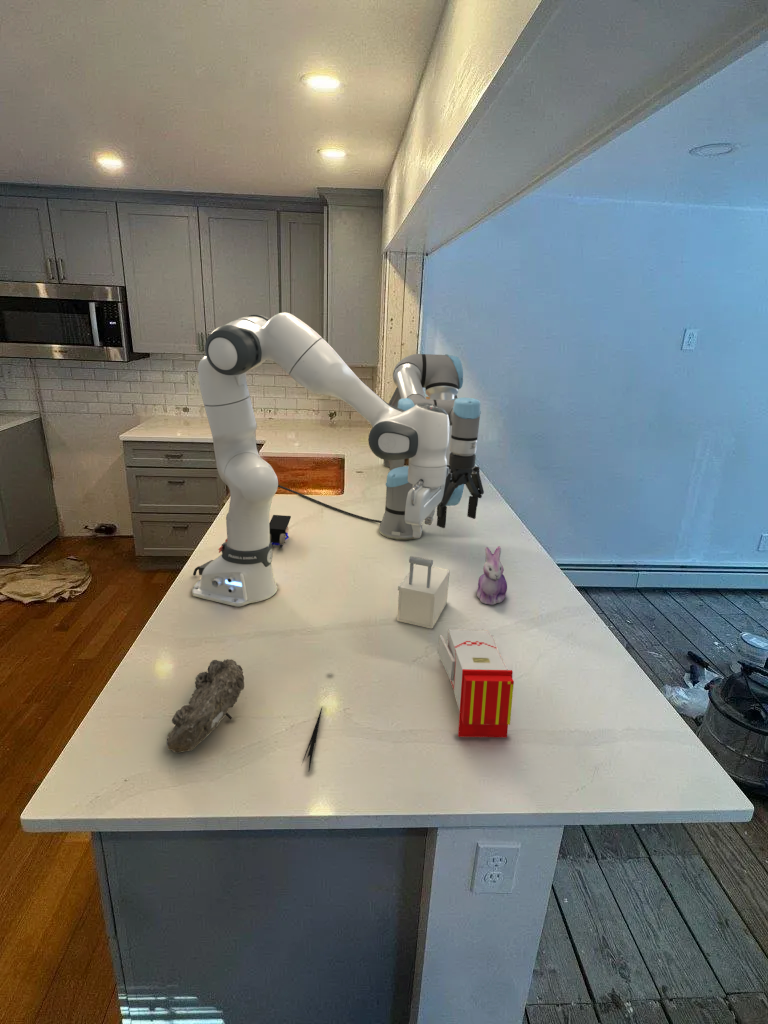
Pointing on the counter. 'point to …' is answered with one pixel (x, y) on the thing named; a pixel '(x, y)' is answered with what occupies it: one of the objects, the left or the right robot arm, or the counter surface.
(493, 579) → the figurine
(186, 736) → the fossil
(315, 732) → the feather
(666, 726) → the counter surface
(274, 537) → the figurine character
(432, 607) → the chest
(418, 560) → the lid
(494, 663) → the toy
